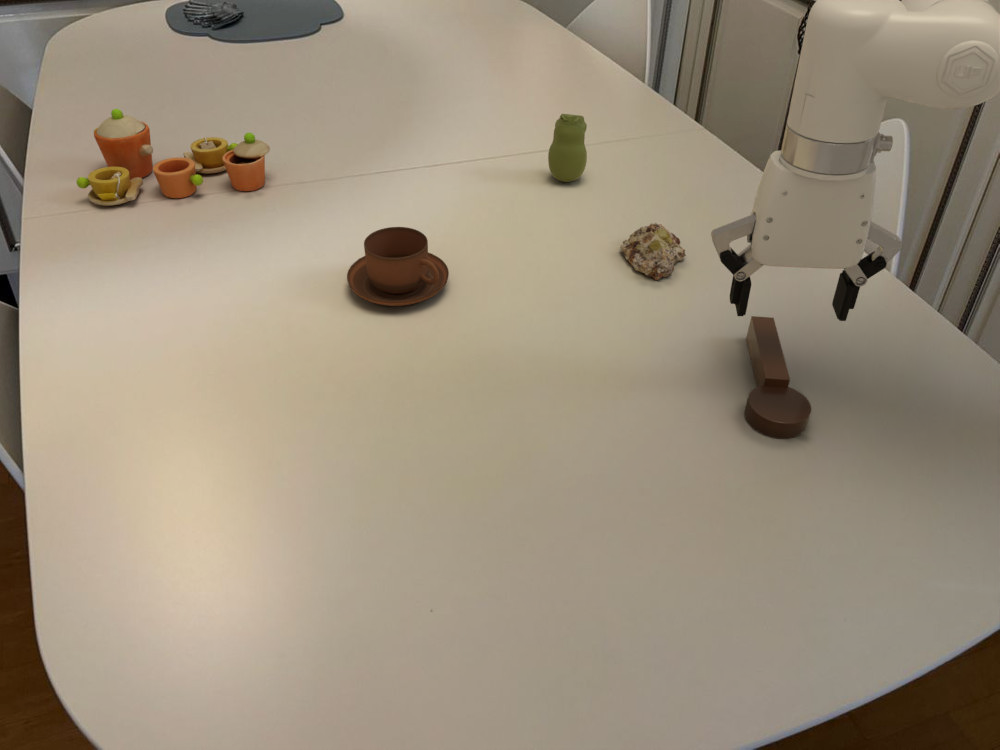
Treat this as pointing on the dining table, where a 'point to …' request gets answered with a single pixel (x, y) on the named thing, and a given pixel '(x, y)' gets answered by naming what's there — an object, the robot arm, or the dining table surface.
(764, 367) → the brown handled disc
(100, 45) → the dining table surface
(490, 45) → the dining table surface
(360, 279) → the cup and saucer
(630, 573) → the dining table surface
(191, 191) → the toy tea set
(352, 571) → the dining table surface
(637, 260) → the mineral rock
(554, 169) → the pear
